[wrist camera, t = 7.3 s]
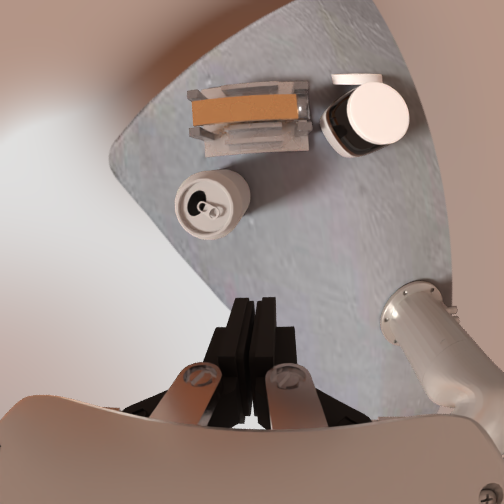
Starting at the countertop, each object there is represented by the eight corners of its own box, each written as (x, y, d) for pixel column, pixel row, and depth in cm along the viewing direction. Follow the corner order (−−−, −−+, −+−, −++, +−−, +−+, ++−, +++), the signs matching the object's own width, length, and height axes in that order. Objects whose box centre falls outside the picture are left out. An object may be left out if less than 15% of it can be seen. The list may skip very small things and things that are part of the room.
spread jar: (339, 166, 36) (363, 167, 25) (293, 99, 34) (299, 74, 23) (401, 127, 33) (442, 118, 22) (358, 63, 31) (385, 33, 20)
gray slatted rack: (302, 83, 33) (308, 63, 25) (307, 150, 36) (316, 146, 28) (203, 91, 35) (184, 74, 26) (207, 157, 38) (189, 155, 29)
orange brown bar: (306, 96, 29) (309, 93, 27) (308, 120, 30) (311, 117, 28) (193, 103, 29) (191, 100, 27) (195, 127, 30) (192, 125, 28)
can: (213, 160, 38) (186, 159, 26) (260, 184, 38) (253, 192, 27) (191, 206, 40) (158, 224, 29) (236, 230, 40) (220, 256, 29)
